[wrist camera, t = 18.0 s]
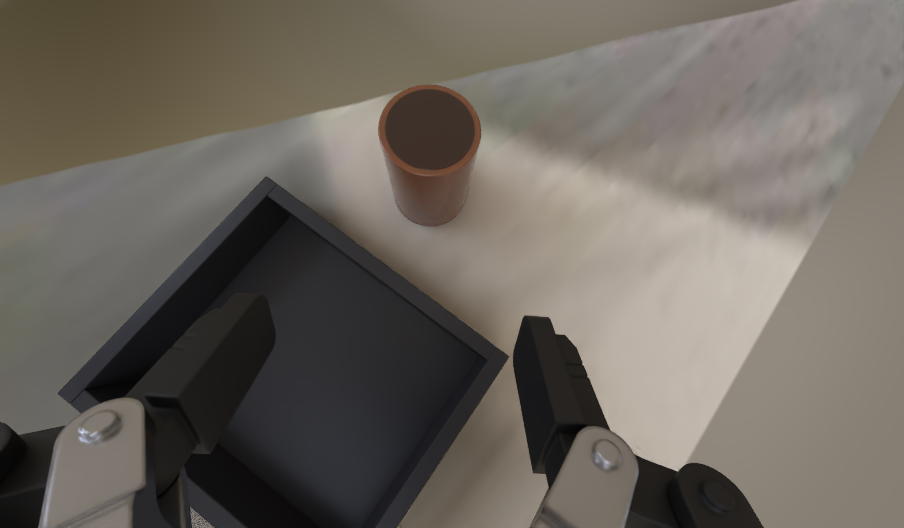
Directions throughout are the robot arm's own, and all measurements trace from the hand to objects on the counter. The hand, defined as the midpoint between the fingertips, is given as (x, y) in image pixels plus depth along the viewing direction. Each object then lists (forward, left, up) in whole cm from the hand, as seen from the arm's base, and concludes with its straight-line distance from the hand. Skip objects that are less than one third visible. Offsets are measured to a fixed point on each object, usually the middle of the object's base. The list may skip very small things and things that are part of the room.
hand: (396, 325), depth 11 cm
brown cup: (-6, +10, -16) cm, 19 cm away
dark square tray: (-4, -6, -16) cm, 17 cm away
